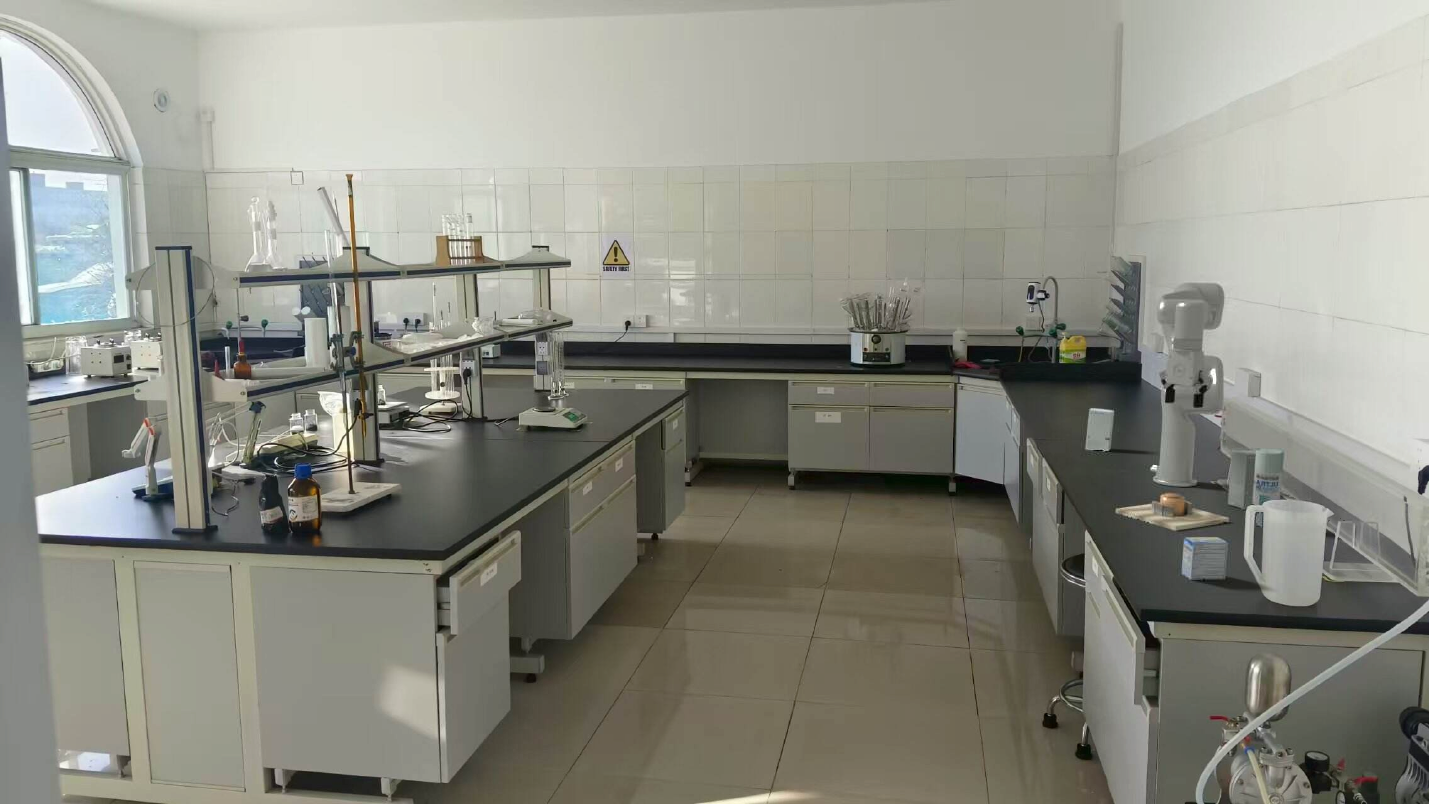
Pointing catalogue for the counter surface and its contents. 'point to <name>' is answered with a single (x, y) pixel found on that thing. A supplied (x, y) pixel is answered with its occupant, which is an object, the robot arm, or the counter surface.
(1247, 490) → the skincare box
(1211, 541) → the medicine box
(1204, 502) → the counter surface
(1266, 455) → the spray paint can
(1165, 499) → the tan round jar
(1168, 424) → the robot arm
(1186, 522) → the barrel mount
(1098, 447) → the skincare box
